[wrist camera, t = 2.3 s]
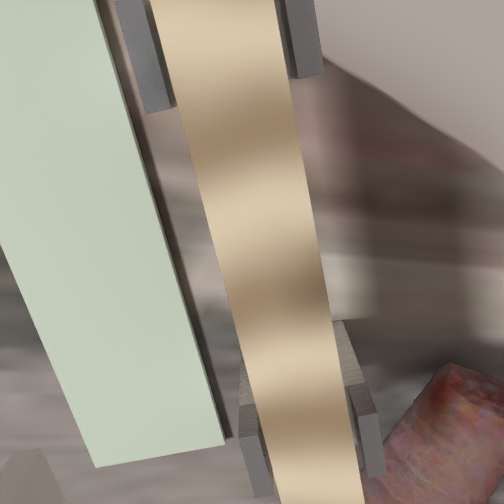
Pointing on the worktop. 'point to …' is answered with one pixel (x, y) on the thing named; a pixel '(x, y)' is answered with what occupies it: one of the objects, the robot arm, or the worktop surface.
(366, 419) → the post
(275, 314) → the rail
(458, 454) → the food
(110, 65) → the mat
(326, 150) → the worktop surface
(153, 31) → the post
